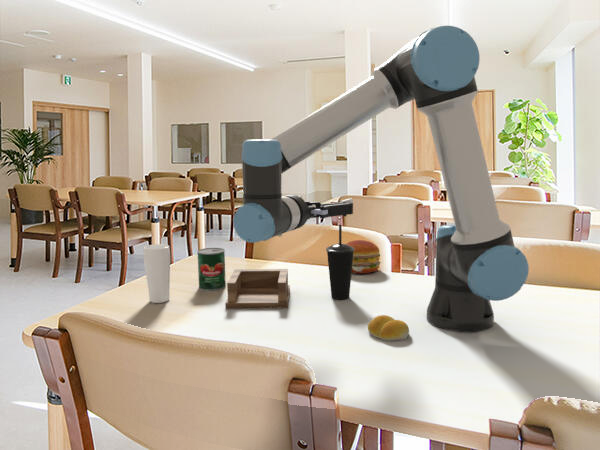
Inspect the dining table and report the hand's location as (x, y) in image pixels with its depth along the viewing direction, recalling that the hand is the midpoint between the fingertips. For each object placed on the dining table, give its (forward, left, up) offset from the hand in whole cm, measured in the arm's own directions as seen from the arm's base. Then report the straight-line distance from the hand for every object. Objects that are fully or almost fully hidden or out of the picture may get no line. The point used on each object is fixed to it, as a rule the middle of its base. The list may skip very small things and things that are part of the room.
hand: (325, 202), depth 130 cm
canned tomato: (+20, +33, -27) cm, 47 cm away
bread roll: (-18, -13, -28) cm, 36 cm away
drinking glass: (+7, +45, -27) cm, 53 cm away
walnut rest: (+8, +18, -27) cm, 33 cm away
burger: (+37, -12, -27) cm, 48 cm away
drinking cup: (+9, -4, -27) cm, 29 cm away
